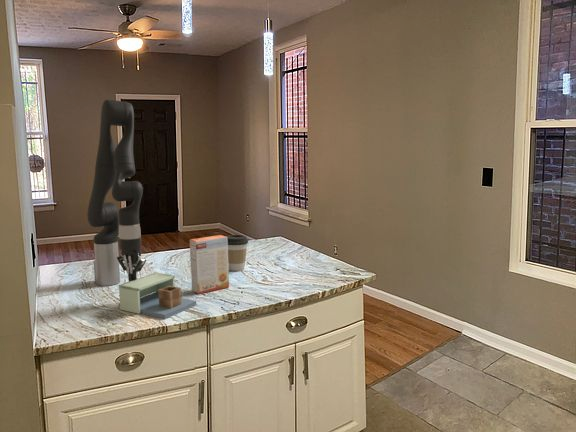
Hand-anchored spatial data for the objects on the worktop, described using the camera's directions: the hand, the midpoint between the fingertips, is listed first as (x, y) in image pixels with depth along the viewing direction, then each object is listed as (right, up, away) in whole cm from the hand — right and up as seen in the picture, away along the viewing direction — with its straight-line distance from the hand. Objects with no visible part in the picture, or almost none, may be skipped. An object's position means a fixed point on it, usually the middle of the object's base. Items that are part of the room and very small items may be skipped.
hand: (132, 282), depth 185 cm
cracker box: (+26, -5, +15) cm, 31 cm away
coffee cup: (+34, 0, +44) cm, 55 cm away
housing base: (+11, -8, -5) cm, 15 cm away
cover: (+7, -7, -2) cm, 10 cm away
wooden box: (+16, -7, -8) cm, 19 cm away
